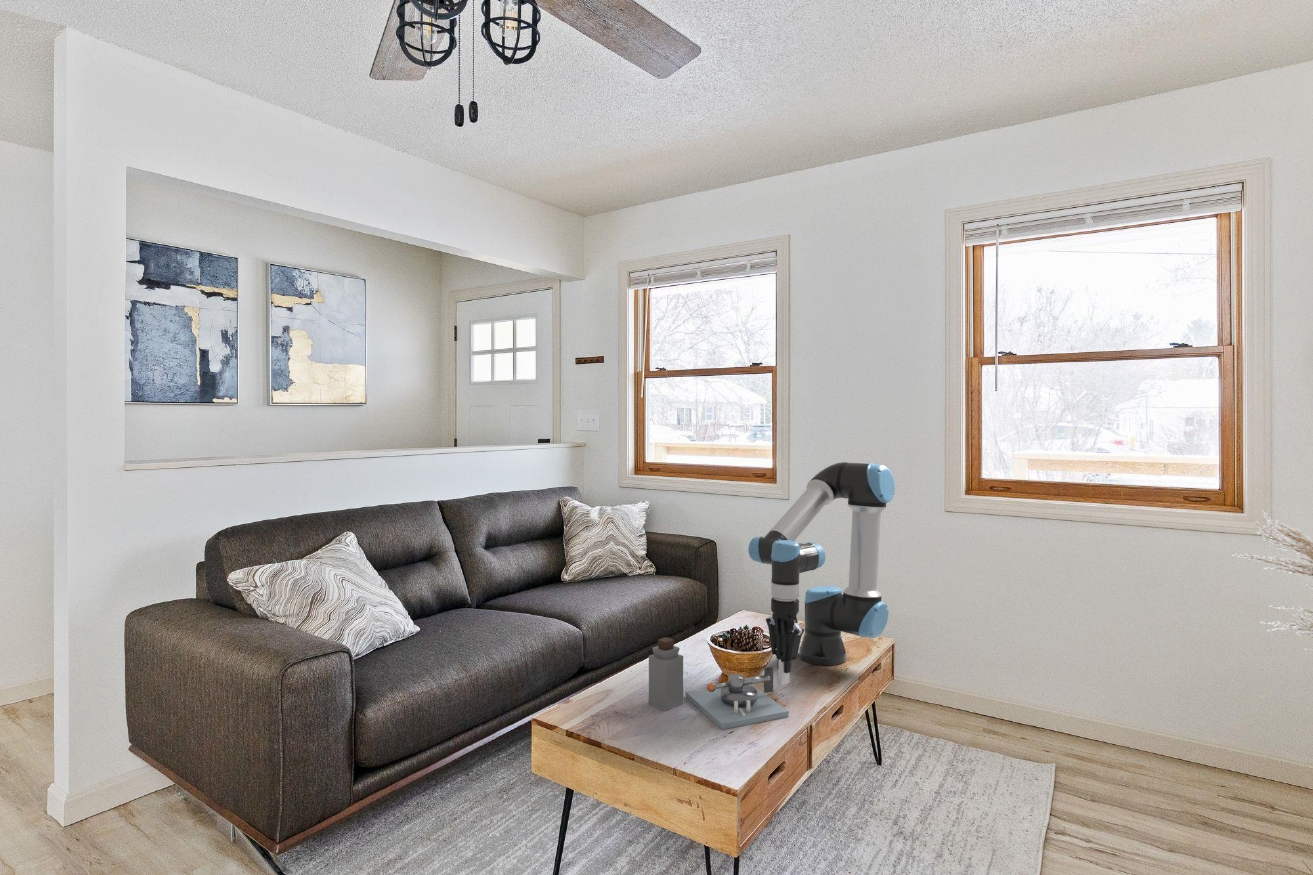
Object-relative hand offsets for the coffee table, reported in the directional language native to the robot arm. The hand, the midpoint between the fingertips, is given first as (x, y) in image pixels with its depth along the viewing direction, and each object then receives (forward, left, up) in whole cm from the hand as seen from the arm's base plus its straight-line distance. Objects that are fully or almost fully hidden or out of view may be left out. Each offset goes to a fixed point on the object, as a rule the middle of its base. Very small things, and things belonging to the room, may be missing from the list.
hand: (783, 683), depth 193 cm
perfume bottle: (+29, -14, -7) cm, 33 cm away
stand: (+12, -5, -7) cm, 15 cm away
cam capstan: (+11, -5, -5) cm, 13 cm away
